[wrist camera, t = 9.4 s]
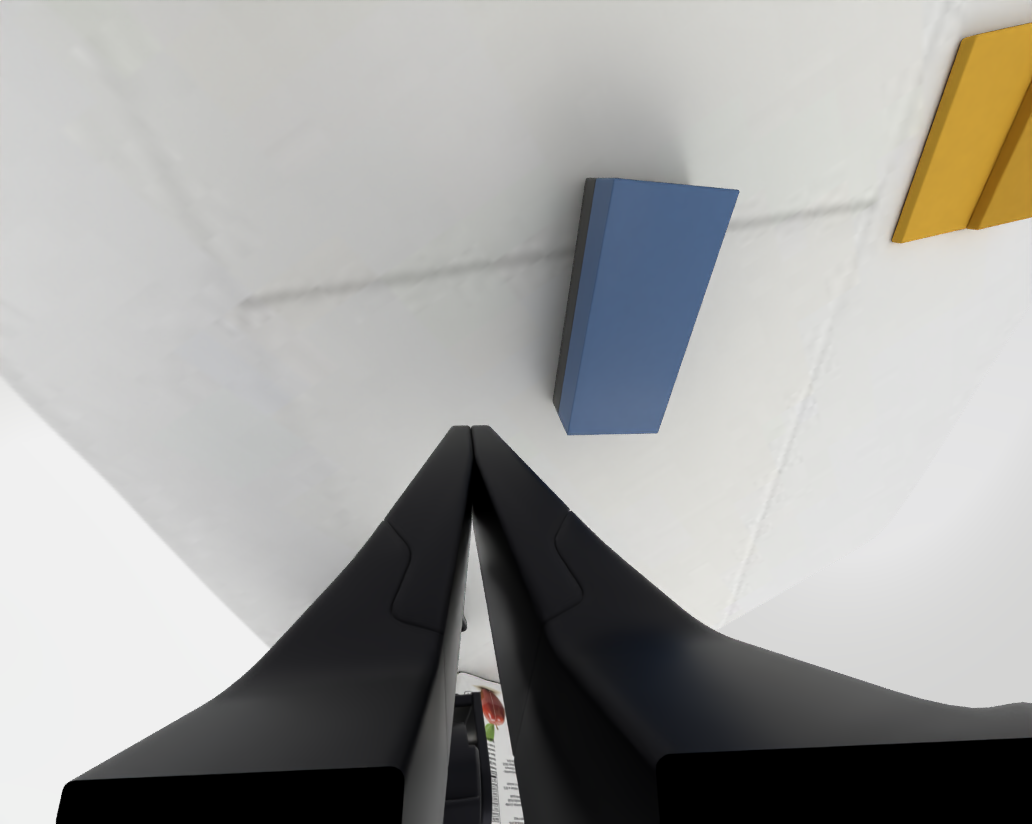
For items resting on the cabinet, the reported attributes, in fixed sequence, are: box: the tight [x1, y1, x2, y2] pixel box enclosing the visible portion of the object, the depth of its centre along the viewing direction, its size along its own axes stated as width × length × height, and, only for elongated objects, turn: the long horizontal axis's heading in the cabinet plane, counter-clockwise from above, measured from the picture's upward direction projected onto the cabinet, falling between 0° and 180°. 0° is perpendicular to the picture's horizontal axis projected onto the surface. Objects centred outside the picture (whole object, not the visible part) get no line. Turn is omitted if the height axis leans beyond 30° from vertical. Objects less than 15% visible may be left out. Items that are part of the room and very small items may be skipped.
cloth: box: [892, 23, 1032, 243], centre depth 15 cm, size 7×6×1 cm
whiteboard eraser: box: [553, 178, 739, 435], centre depth 16 cm, size 10×4×3 cm, turn 176°
